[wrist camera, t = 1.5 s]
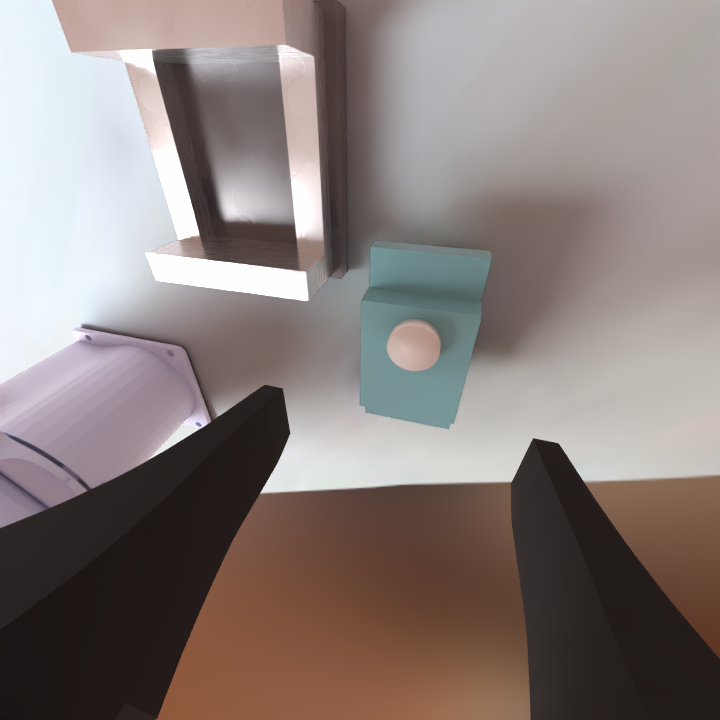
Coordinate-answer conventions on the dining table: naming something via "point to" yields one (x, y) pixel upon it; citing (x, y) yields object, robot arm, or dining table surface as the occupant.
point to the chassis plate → (237, 132)
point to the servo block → (419, 329)
